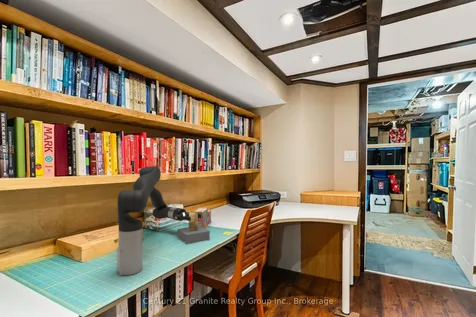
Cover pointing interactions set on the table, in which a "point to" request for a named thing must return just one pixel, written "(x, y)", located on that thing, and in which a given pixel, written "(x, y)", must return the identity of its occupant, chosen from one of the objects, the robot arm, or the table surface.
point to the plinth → (193, 235)
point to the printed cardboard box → (204, 217)
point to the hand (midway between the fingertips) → (195, 217)
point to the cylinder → (193, 221)
